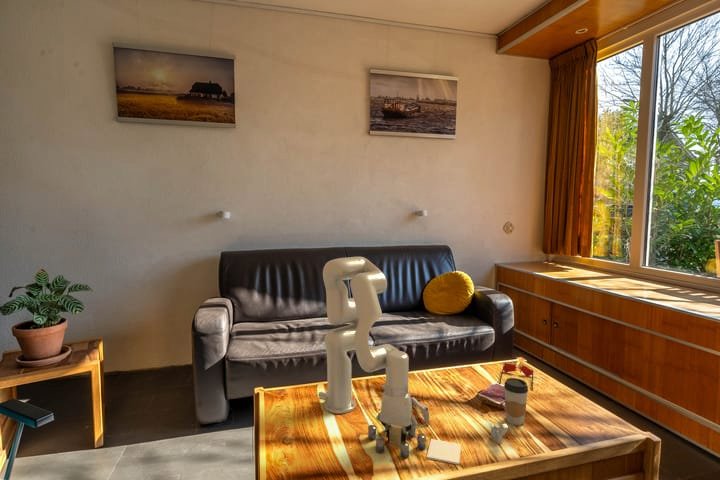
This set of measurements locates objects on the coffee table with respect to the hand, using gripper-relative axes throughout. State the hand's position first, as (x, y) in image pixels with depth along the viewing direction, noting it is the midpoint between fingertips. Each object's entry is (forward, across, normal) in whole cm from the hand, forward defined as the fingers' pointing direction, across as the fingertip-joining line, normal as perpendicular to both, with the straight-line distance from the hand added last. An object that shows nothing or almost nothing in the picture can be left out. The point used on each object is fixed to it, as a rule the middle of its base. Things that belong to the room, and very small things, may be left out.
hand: (396, 440), depth 133 cm
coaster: (+1, +16, 0) cm, 16 cm away
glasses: (+2, +42, +64) cm, 77 cm away
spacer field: (+1, 0, 0) cm, 1 cm away
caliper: (+1, +4, +23) cm, 23 cm away
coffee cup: (+1, +39, +27) cm, 47 cm away
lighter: (+1, +33, +11) cm, 35 cm away
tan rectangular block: (+1, 0, 0) cm, 1 cm away
